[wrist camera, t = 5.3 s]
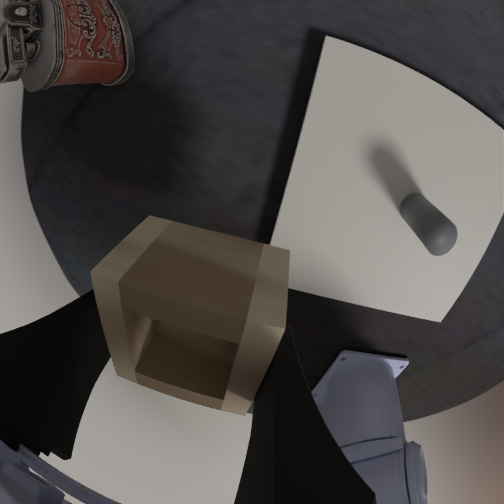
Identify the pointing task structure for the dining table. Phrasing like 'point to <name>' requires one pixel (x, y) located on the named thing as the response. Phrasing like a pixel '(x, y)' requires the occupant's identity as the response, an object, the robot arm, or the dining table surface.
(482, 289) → the dining table surface
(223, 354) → the maple sleeve
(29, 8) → the lighter
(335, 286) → the post board
